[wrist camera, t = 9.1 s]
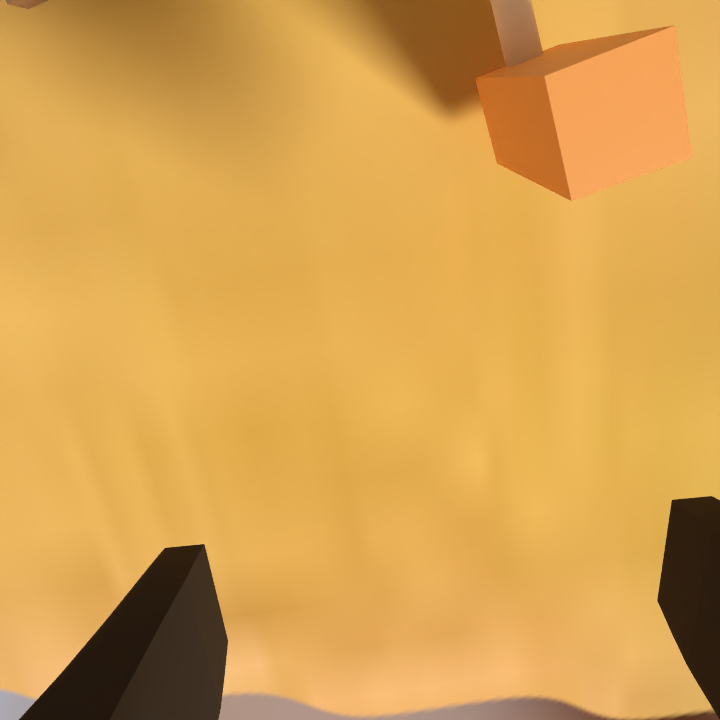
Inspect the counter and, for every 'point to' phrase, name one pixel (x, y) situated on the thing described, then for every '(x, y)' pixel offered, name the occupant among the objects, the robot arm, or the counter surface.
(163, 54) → the counter surface
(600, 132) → the rod with orange block
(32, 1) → the lane shelf
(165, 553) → the robot arm
